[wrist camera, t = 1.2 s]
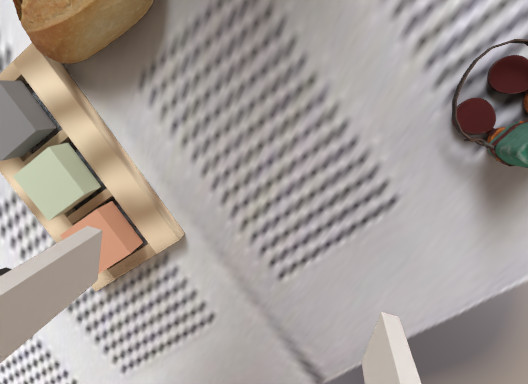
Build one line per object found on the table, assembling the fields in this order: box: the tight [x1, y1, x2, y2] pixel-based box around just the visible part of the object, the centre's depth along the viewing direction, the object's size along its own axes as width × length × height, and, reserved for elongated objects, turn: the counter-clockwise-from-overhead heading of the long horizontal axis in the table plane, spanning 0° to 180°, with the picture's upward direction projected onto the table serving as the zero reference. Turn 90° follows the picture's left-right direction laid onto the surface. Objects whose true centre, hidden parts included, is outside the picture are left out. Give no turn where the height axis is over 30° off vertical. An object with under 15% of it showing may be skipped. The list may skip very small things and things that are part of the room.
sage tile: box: [13, 143, 101, 221], centre depth 40 cm, size 6×6×3 cm
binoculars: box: [452, 39, 528, 168], centre depth 29 cm, size 9×10×10 cm
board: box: [0, 43, 185, 291], centre depth 42 cm, size 26×14×2 cm, turn 34°
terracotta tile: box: [60, 201, 143, 274], centre depth 41 cm, size 6×6×3 cm
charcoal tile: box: [0, 80, 57, 161], centre depth 38 cm, size 6×6×3 cm
